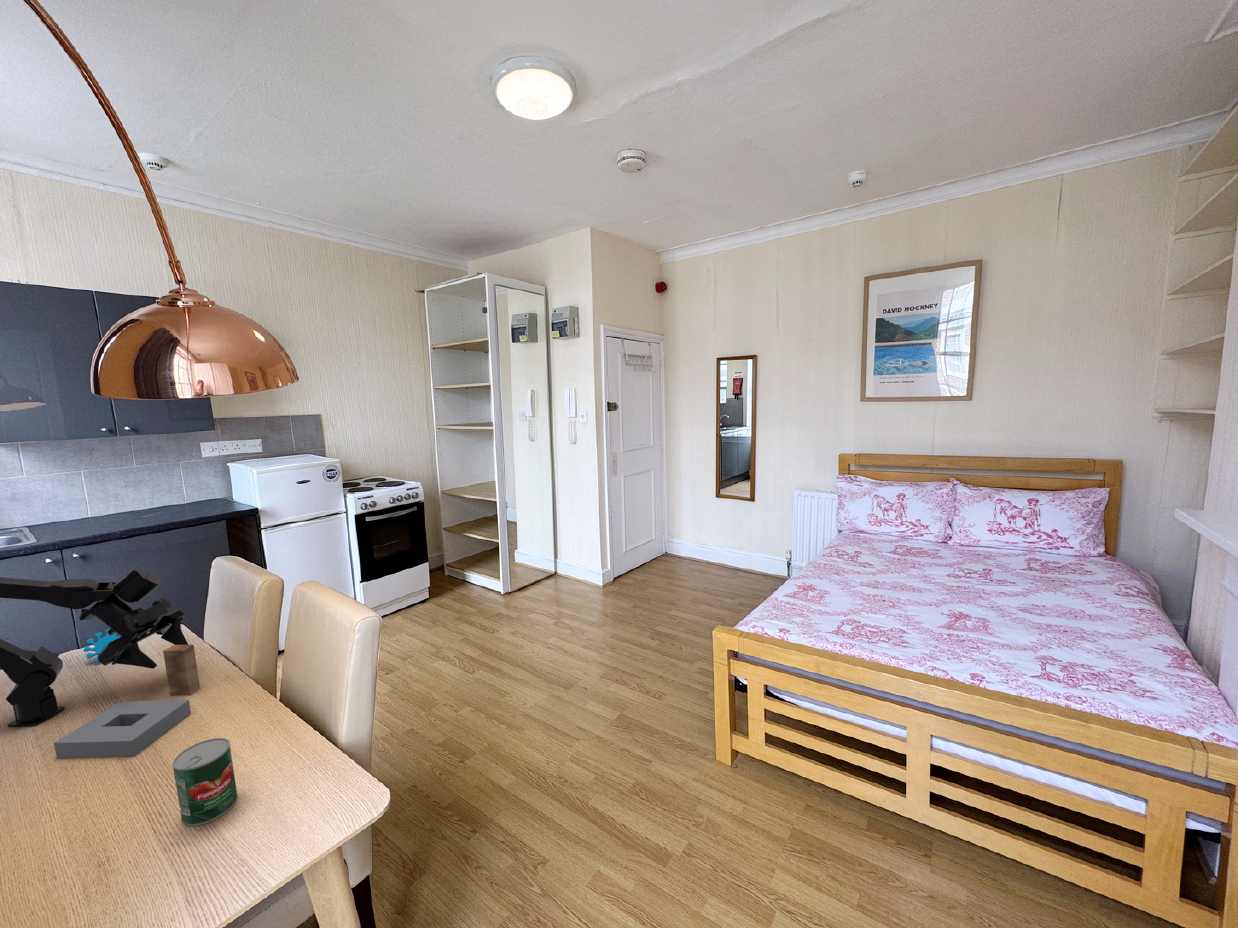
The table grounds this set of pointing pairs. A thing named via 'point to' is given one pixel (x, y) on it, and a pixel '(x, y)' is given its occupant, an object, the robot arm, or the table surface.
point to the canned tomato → (205, 781)
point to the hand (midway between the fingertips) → (172, 657)
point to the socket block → (123, 729)
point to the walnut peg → (181, 670)
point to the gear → (99, 644)
